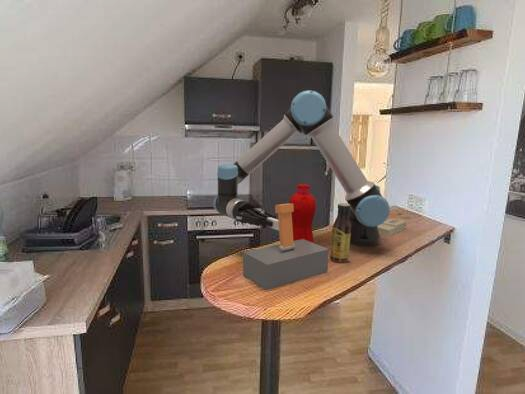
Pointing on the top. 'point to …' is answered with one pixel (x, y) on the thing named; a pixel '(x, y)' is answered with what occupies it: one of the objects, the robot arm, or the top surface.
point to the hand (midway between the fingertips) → (281, 226)
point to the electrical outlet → (391, 227)
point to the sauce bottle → (341, 234)
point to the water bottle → (303, 213)
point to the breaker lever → (285, 226)
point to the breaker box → (284, 264)
